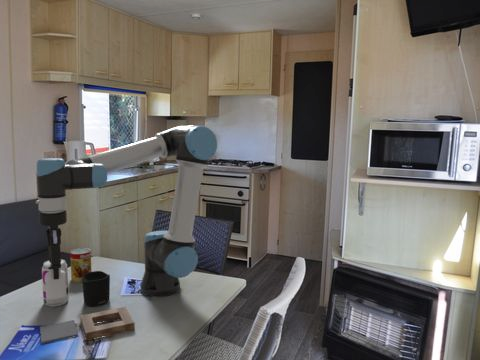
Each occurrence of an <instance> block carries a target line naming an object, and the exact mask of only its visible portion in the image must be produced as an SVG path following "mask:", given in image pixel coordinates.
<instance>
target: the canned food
mask: <svg viewBox="0 0 480 360" xmlns="http://www.w3.org/2000/svg"><path fill="white" fill-rule="evenodd" d="M69 255H70V278H71V281H72V282H74V283H82V276H83V275H84V274H86V273H89V272H92V250H91V249H90V248H89V247H78V248H74V249H71V250H70V252H69Z"/></svg>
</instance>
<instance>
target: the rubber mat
mask: <svg viewBox="0 0 480 360" xmlns="http://www.w3.org/2000/svg"><path fill="white" fill-rule="evenodd" d="M39 333H40V334H41V335H40V334H39V335H40V344H42V345H43V344H46V343H51V342H55V341H61V340H65V339H69V338H70V337H71V338H74V337H73V336H75V337H78V336H79V334H78V329H77V326H76V323H75V320H74V319H73V320H71V319H70V320H68V321H67V320H66V321H62V322H56V323H53V324H47V325H42V326H39Z"/></svg>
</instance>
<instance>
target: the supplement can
mask: <svg viewBox="0 0 480 360" xmlns="http://www.w3.org/2000/svg"><path fill="white" fill-rule="evenodd" d="M50 264H51V263H50V262H49V260H46V261H44V262H43V265H42V267H41V280H42V295H43V297H42V298H43V304H44V305H45V306H47V307H53V308H55V307H60V306H63V305H65V304H66V303H67V302H68V301H69V299H70V298H69V297H70V296H69V295H70V294H69V277H68V272H69V271H68V264H67V262H66V260H65V259H62V258H61V270H62V271H64V272H65V276H66V297H64V298H60V299H52V300H49V299H46V285H45V275H46V273H47V272H49V271H50V269H48V267H50Z"/></svg>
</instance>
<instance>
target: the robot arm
mask: <svg viewBox="0 0 480 360" xmlns="http://www.w3.org/2000/svg"><path fill="white" fill-rule="evenodd" d="M217 148H218V141H217V136H216V135H215V133H214V131H213V130H211V129H210V127H207V126H203V125H199V124H195V125H193V124H190V125H187V124H183V125H178V126H174V127H172V128H169V129H167V130H163V131H161V132H157V133H155V134H154V137H151V138H146V139H144V140H140V141H137V142H133V143H130V144H126V145H123V146H120V147H116V148H113V149H110V150H109V149H108V150H106V151H103V152H99V153H96V154H92V155H89V156H86V157H83V158H79V159H70V160H67V161H66V162H65V159H64V158H59V157H58V158H57V157H55V158H54V157H52V158H51V157H50V158H49V157H48V158H40V159H38V160H37V162H36V174H35V175H36V185H37V188H36V190H37V200H35V204H37V205H38V211H39V212H38V224H39V225H40V226H44V227H47V228H46V229H45V236H46V242H47V246H48V255H49V256H48V259H49V260H48V261H49V262H50V263H51V265H50V267H48V269H50V271H51V289H52V290H54V289H60V288H62V287H61V259H62V258H61V257H62V256H61V244H62V239H61V236H62V230H61V228H60V227H59V226H61V225H62V226H63V225H64V224H66V223H67V221H68V217H67V215H68V214H67V211H66V210H67V195H66V191H68V190H81V189H82V190H83V189H84V190H85V189H97V188H103V187H105V186H106V184H107V181H108V174H111V173H113V172H116V171H121V170H123V169H126V168H130V167H132V166H136V165H138V164H141V163H144V162H148V161H151V160H154V159H158V158H162V159H166V158H171V157H175V161H176V163H177V165H178V171H177V178H176V181H175V182H176V183H175V190H174V196H173V201H172V208H171V213H170V220H169V224H168V230H155V231H151V232H148V233H146V234H145V235H144V240H143V244H144V272H143V273H144V274H143V277H142V279H141V282H140V292H141V294H143V295H145V296H148V297H153V298H155V297H156V298H157V297H158V298H159V297H160V298H162V297H167V296H171V295H174V294H176V293H177V292H179V291H180V288H181V283H180V278H185V277H188V276H189V275H190V274H191V273H193V272H194V270H195V269H196V268H197V265H198V263H199V262H198V261H199V255H198V253H197V252H196V250H195V245H196V239H195V237H194V236H193V232H194V225H195V219H196V212H197V207H198V200H199V195H200V189H201V184H202V179H203V178H202V177H203V174H204V173H203V172H204V169H206V168H208V166H209V163H210V162H209V160H210V159H211V158H212V157H213V156H215V154H216V151H217Z"/></svg>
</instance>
